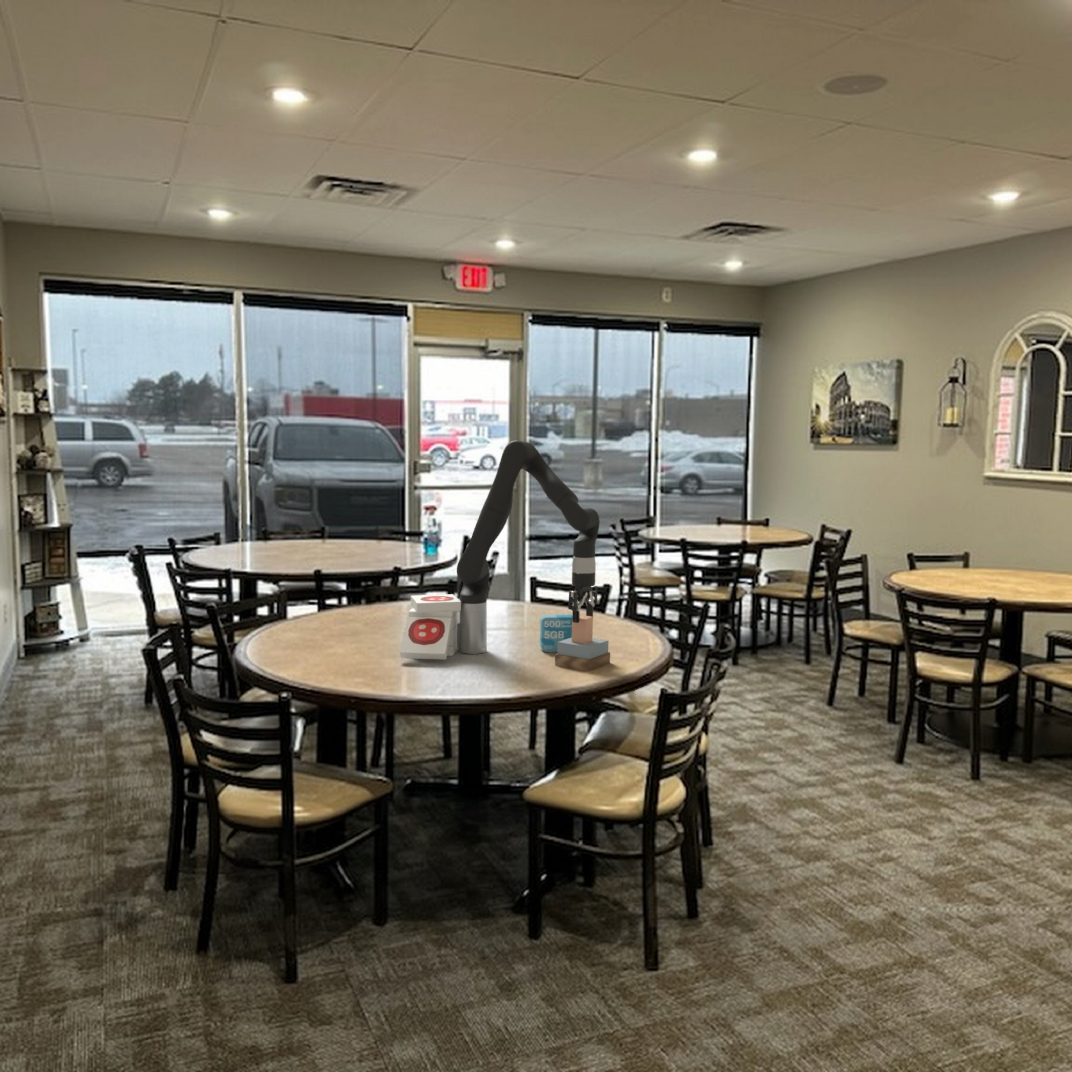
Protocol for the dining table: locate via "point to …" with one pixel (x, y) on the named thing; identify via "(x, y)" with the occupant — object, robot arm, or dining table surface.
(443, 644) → the pizza boxes
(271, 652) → the dining table surface
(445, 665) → the dining table surface
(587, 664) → the tower base
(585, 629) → the terracotta block
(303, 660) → the dining table surface
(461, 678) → the dining table surface
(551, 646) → the data package
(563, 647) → the tower top
